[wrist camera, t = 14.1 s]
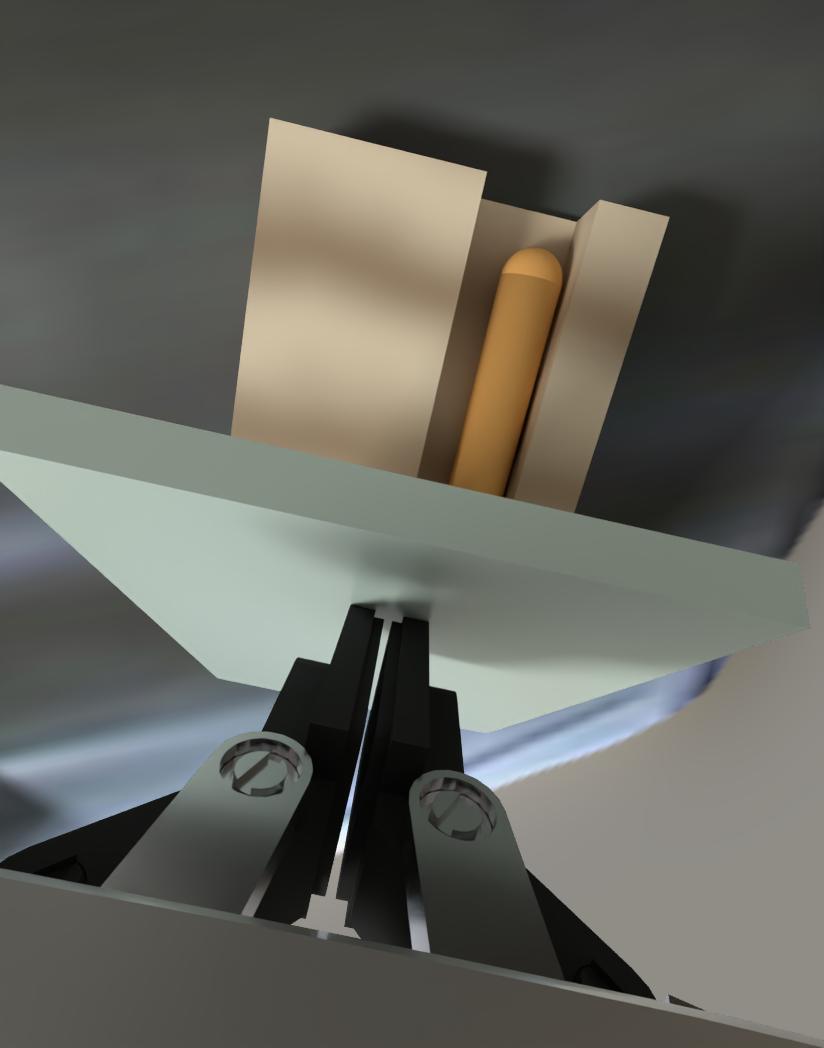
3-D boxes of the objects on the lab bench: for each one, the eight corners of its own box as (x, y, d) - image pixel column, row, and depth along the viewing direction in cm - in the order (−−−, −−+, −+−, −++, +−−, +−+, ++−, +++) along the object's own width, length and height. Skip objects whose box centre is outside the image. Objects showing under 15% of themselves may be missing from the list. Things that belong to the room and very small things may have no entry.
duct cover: (-5, 383, 8) (-45, 440, 7) (800, 564, 8) (810, 628, 8) (225, 655, 24) (217, 678, 23) (488, 710, 24) (486, 733, 24)
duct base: (294, 156, 21) (270, 117, 18) (632, 239, 22) (669, 217, 18) (233, 604, 27) (205, 638, 24) (502, 661, 28) (512, 702, 24)
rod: (508, 249, 22) (508, 233, 19) (567, 261, 22) (573, 247, 19) (428, 571, 26) (420, 589, 24) (477, 584, 26) (474, 604, 23)
